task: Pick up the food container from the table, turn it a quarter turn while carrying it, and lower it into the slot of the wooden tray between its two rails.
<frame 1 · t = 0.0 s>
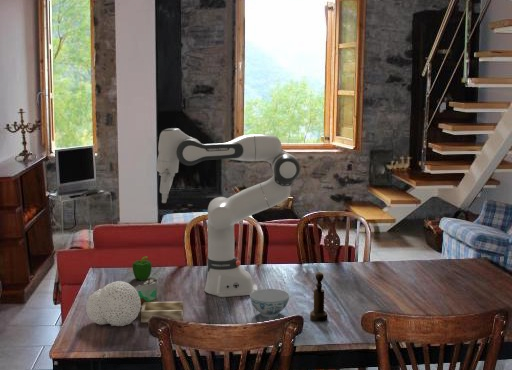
hand: (164, 200, 284), 39 cm above the table, fingers open, 8 cm apart
pepper mill: (318, 319, 258), on the table
bell pepper: (142, 279, 307), on the table
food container: (150, 306, 272), on the table
wooden tray: (162, 317, 260), on the table
chinaware: (269, 314, 263), on the table
white bumpy round lump: (113, 325, 252), on the table
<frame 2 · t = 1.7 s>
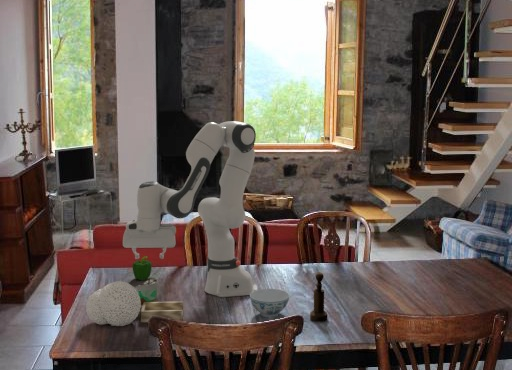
hand: (149, 258, 269), 19 cm above the table, fingers open, 8 cm apart
nothing on the table moved.
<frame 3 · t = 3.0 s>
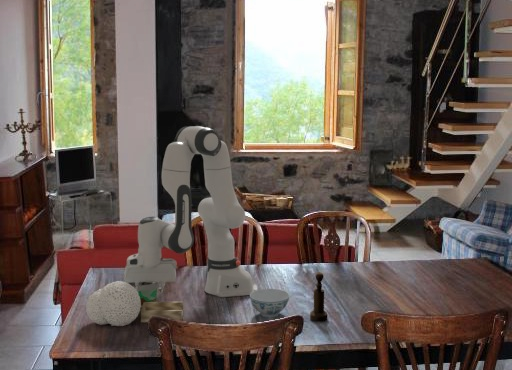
hand: (150, 292, 271), 5 cm above the table, fingers open, 7 cm apart
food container: (150, 306, 272), on the table, touching gripper
everything else where it was.
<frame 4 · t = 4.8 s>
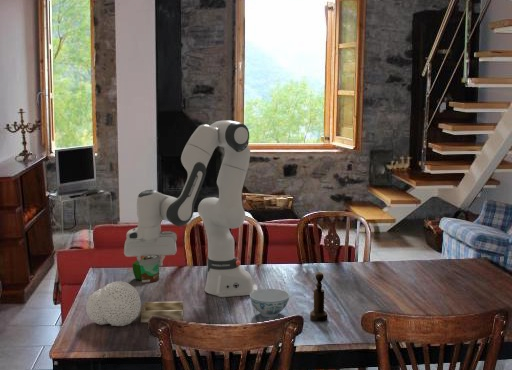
hand: (151, 266, 270), 16 cm above the table, fingers closed on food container, 6 cm apart
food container: (153, 280, 271), point 10 cm above the table, touching gripper
everything else where it was.
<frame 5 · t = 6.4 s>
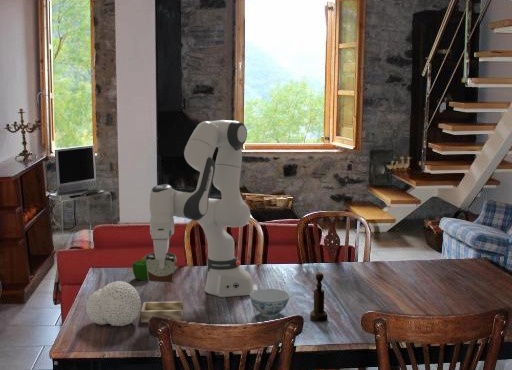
hand: (162, 265, 257), 20 cm above the table, fingers closed on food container, 6 cm apart
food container: (163, 280, 258), point 14 cm above the table, touching gripper
everything else where it was.
when the fingers open (7 cm above the table, at t = 8.7 s): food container stays where it is, resting on wooden tray.
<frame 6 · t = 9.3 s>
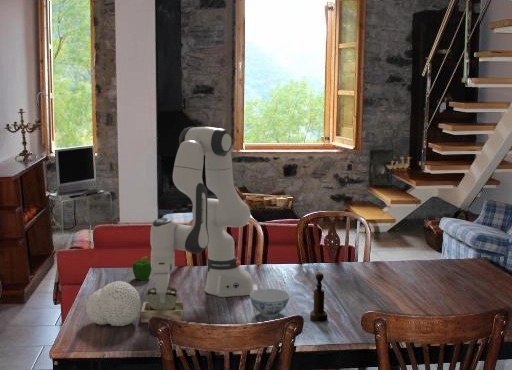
hand: (163, 297, 259), 7 cm above the table, fingers open, 8 cm apart
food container: (164, 314, 259), point 1 cm above the table, touching wooden tray
everything else where it was.
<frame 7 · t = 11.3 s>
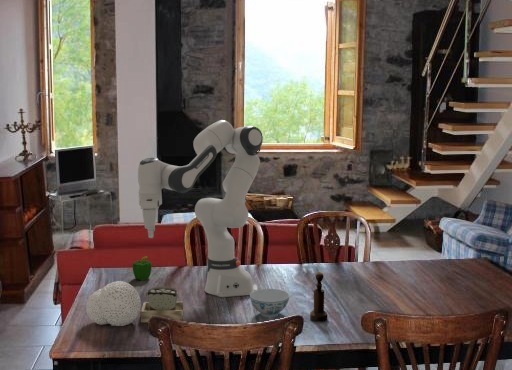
hand: (151, 234, 270), 28 cm above the table, fingers open, 8 cm apart
nothing on the table moved.
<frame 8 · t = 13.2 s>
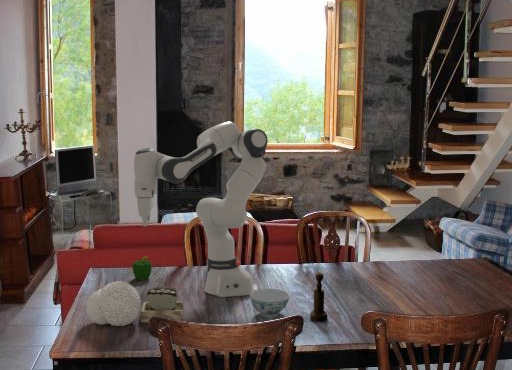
hand: (146, 223, 277), 31 cm above the table, fingers open, 8 cm apart
nothing on the table moved.
at the end: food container inside the target area on the wooden tray (0.6 cm from its centre), point 1.0 cm above the wooden tray's base; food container tilted 0°; the gripper is holding nothing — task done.
